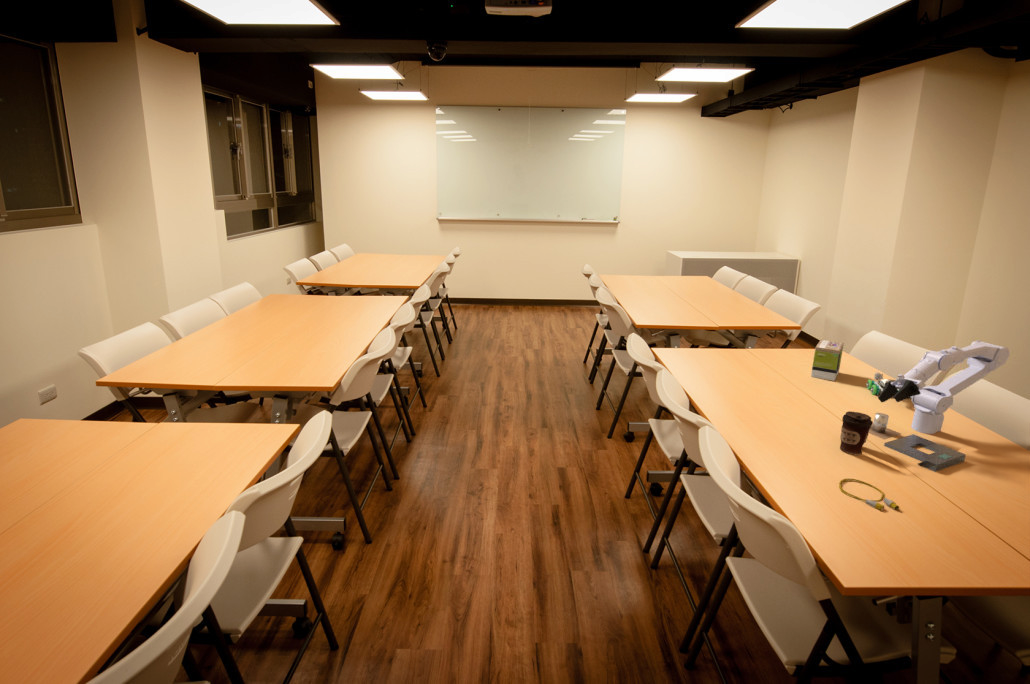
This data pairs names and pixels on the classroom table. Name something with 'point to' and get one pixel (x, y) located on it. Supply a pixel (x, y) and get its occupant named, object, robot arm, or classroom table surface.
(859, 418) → the coffee cup
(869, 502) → the yellow looped cable
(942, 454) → the plate
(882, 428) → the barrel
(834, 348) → the tea box
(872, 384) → the robot kit
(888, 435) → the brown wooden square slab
